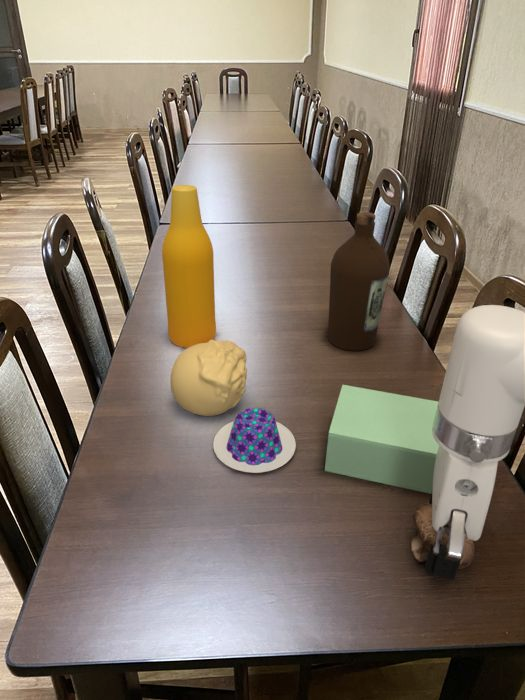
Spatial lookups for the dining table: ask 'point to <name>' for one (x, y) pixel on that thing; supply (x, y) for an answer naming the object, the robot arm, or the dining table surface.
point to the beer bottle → (188, 272)
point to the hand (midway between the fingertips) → (439, 543)
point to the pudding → (254, 442)
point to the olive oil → (357, 288)
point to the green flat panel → (385, 420)
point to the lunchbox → (380, 464)
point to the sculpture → (209, 377)
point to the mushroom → (427, 537)
